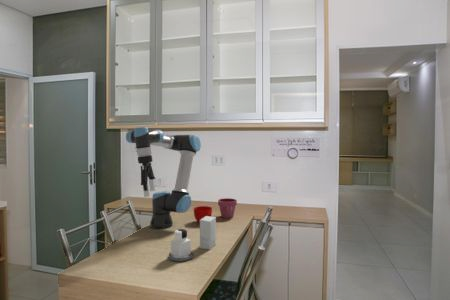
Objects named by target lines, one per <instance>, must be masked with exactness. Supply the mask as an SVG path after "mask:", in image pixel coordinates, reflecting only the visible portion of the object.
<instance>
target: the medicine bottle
mask: <svg viewBox="0 0 450 300" xmlns="http://www.w3.org/2000/svg"><path fill="white" fill-rule="evenodd" d="M191 242H192V240H191V239H189V238H188V231H187V230H186V229H184V228H183V229H182V228H179V229H176V230H175V231H174V238H173V239H170V253H171V255H174V256H176V257H179V258H182V257H184V256H187V255H189V254H191V252H192V243H191Z"/></svg>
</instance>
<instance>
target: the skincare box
mask: <svg viewBox="0 0 450 300" xmlns="http://www.w3.org/2000/svg"><path fill="white" fill-rule="evenodd" d="M216 220H217V217H216V216H211V217H210V216H205V217H204V218H202V219H201V220H200V223H199V249H202V250H211V249H213V247H215V246H216V244H217V242H216V241H217V238H216V237H217V235H216V233H217V229H216V227H217V221H216Z"/></svg>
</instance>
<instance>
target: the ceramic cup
mask: <svg viewBox="0 0 450 300" xmlns="http://www.w3.org/2000/svg"><path fill="white" fill-rule="evenodd" d="M212 214H213V207H211V206H207V205H206V206H205V205H202V206H201V205H200V206H195V207H194V208H193V216H194V218H195V220H196V221H197V222H198V224H200V220H201V219H202V218H204V217H205V216H210V217H212Z"/></svg>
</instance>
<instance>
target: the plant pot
mask: <svg viewBox="0 0 450 300" xmlns="http://www.w3.org/2000/svg"><path fill="white" fill-rule="evenodd" d="M237 203H238V201H237V199H235V198H228V197H227V198H226V197H225V198H220V199H218V200H217V206H219V211H220V216H221V217H222V218H225V219H230V218H231V219H232V218H233V217H234V215H235V210H236V206H237V205H238V204H237Z"/></svg>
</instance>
